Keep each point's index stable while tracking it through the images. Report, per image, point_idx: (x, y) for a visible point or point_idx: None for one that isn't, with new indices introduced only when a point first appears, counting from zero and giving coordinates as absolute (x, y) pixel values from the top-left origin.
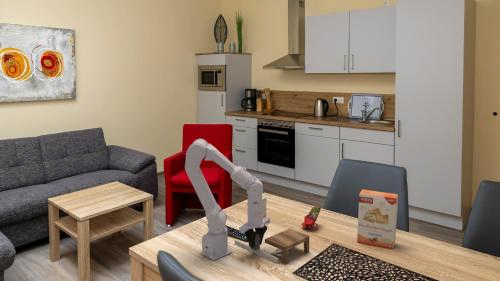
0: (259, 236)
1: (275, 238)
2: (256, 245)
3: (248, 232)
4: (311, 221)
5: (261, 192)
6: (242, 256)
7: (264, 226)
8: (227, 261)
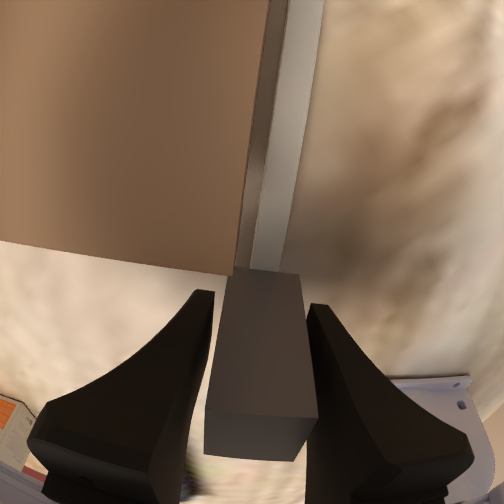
0: (222, 377)
1: (69, 132)
2: (286, 306)
3: (438, 488)
4: None
5: None
6: (372, 311)
7: (73, 474)
8: (463, 330)
